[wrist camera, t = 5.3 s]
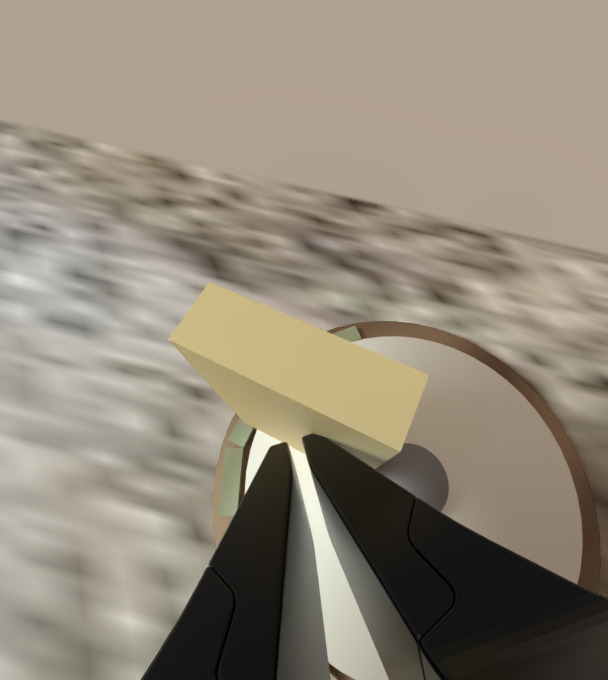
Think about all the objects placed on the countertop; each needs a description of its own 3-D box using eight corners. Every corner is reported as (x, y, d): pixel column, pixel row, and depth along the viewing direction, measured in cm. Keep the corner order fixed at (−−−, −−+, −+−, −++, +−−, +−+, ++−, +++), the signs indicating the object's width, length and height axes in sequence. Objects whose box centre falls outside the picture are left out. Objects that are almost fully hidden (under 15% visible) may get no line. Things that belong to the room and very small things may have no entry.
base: (631, 441, 14) (654, 436, 13) (491, 866, 10) (511, 907, 9) (341, 282, 18) (342, 269, 17) (144, 532, 14) (130, 534, 13)
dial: (519, 772, 10) (1213, 1702, 2) (181, 553, 12) (-41, 629, 5) (582, 416, 14) (905, 306, 6) (317, 307, 16) (314, 135, 9)
